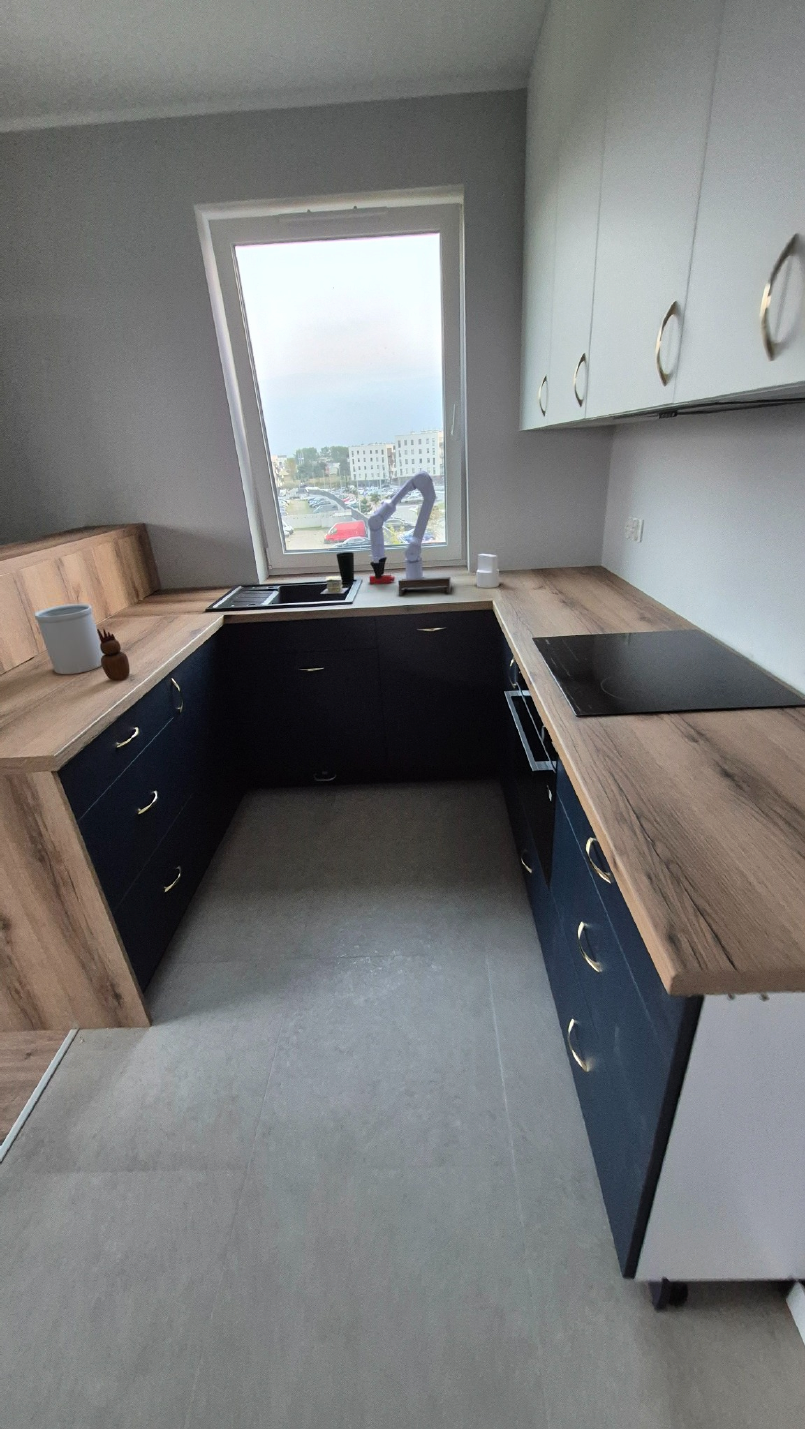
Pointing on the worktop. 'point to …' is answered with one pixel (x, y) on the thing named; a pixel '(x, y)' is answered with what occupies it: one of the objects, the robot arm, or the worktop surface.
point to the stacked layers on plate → (334, 586)
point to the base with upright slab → (487, 571)
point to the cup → (346, 566)
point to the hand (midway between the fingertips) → (379, 576)
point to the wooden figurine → (113, 658)
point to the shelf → (424, 583)
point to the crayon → (383, 579)
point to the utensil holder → (70, 638)
